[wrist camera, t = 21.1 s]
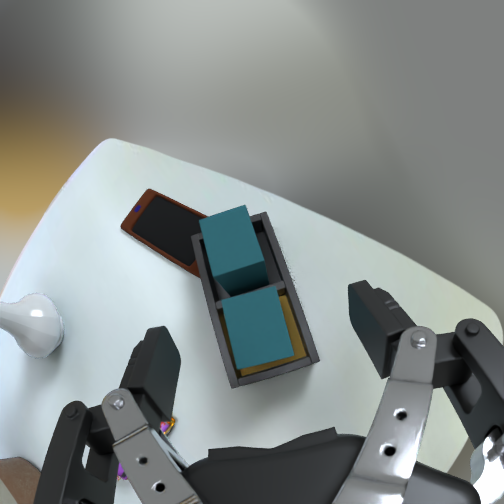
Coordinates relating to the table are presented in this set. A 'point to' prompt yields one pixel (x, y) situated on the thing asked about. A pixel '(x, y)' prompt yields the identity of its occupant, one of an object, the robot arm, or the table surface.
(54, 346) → the flower vase
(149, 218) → the smartphone
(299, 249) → the table surface
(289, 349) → the teal block
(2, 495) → the planter
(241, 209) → the teal cuboid
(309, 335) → the dark grey open box
